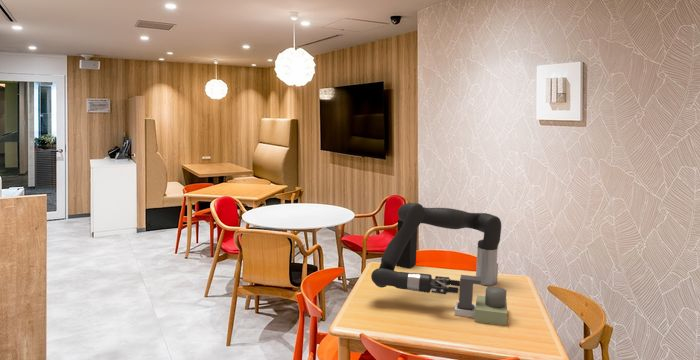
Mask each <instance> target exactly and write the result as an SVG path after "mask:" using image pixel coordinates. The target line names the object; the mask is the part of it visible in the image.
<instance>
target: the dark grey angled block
mask: <svg viewBox="0 0 700 360" xmlns="http://www.w3.org/2000/svg"><path fill="white" fill-rule="evenodd" d="M459 281H460V286H459V292H458V293H459V294H458V295H459V297H458V302H459V309H463V310H471V311H473V310H472V304H473V294H474V293H473V291H474V285H479V286H480V285H481V277H478V276H476V275H468V274H467V275H466V274H461V275H460V279H459ZM481 286H482V285H481Z"/></svg>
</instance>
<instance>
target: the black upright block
mask: <svg viewBox="0 0 700 360" xmlns="http://www.w3.org/2000/svg"><path fill="white" fill-rule="evenodd" d="M403 223H404V222H403V221H401V220H400V218H398V219H397V232H396V234H397V233H398V232H399V230H400V229H401V227H402V225H403ZM417 242H418V228H417V229H416V230H415V232H414V233H413V235H412V236H411V238H410V240H409V241H408V243H407V244H406V246H405V248H404V250H403V252H402V254H401V256H400V258H399V260H398V262H397V264H396V266H397V267H399V266H400V267H401V268H405V269H412V267H415V266H416V265H417V248H418V247H417V245H418V243H417ZM396 266H395V267H396Z"/></svg>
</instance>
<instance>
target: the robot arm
mask: <svg viewBox="0 0 700 360" xmlns="http://www.w3.org/2000/svg"><path fill="white" fill-rule="evenodd" d="M397 216H398V219H400V220H401V221H403V222H404V223H403V225H402V227H401V229H400V230H399V232H398V233H397V232H396V234H395V235H394V236H393V238H391V240H389V241H390V242H389V243H388V244H387V245H386V248H385V249H384V252H383V254H382V255H381V258H380V265H379V266H378V268H375V269H374V270H373V271H372V272H371V276H370V277H371V281H372V282H373V284H375V286H376V287H378V288H385V287H394V288H396V289H399V290H406V291H407V290H408V291H413V292H420V293H427V294H429V293H432V294H440V295H447V294H448V293H451V294H458V293H459V287H460V280H458V279H457V280H456V279H451V278H450V277H449V276H438V275H435V277H434V278H432V274H430V273H429V274H428V273H421V272H408V271H407V272H406V271H405V272H404V271H396V270H395V268H396V264H397V262H398V260H399V258H400V256H401V254H402V252H403V250H404V248H405V246H406V244H407V243H408V241H409V240H410V238H411V236H412V235H413V233H414V232H415V230H416V229H417V230H418V228H419V226H420V225H421V224H424V225H429V226H433V227H437V228H438V227H439V228H443V229H449V230H461V229H472V230H476V231H478V232H481V233H483V239H479V240H478V241H477V248H476V249H477V250H476V251H477V252H476V271H475V276H478V277H481V286H493V285H496V284H497V283H498V274H499V273H498V272H499V271H498V270H499V263H498V250H499V248H498V247H499V244H500V242H501V234H502V221H501V219H500V217H498V216H497V215H494V214H491V213H487V212H486V213H485V212H468V211H464V210H460V209H456V208H449V207H426V206H425V207H424V206H423V205H422V204H420V203H418V202H406V203H404V204H402V205H401V206H399V207H398V211H397Z"/></svg>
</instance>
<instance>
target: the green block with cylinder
mask: <svg viewBox="0 0 700 360" xmlns="http://www.w3.org/2000/svg"><path fill="white" fill-rule="evenodd" d="M453 315H454V316H458V317H467V318H474V322H475V323H482V324H483V323H484V324H491V325H498V326H507V324H508V321H507V320H508V299H507V290H506V289H505V288H503V287H500V286H487V287H486V288H485V295H478V294H477V295H476V299H475V303H472V311H471V310H463V309H459V301H456V302H455V304H454V314H453Z"/></svg>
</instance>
